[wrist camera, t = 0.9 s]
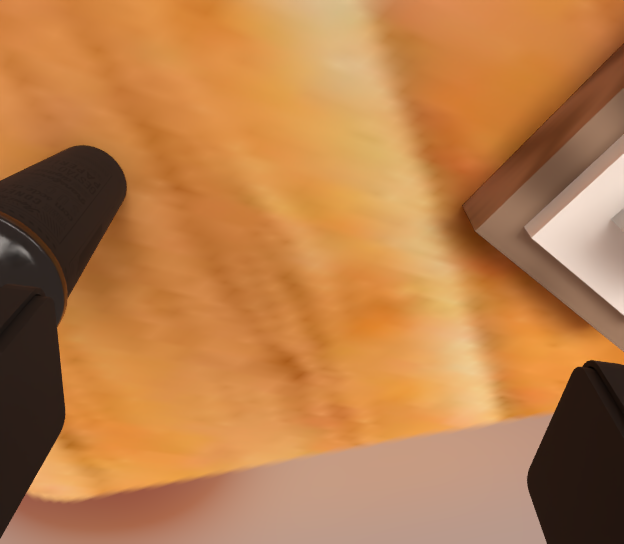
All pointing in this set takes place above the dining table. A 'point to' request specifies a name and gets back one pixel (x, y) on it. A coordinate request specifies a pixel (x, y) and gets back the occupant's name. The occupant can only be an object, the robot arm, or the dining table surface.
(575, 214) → the cover
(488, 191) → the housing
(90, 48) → the dining table surface
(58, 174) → the drinking cup
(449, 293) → the dining table surface
